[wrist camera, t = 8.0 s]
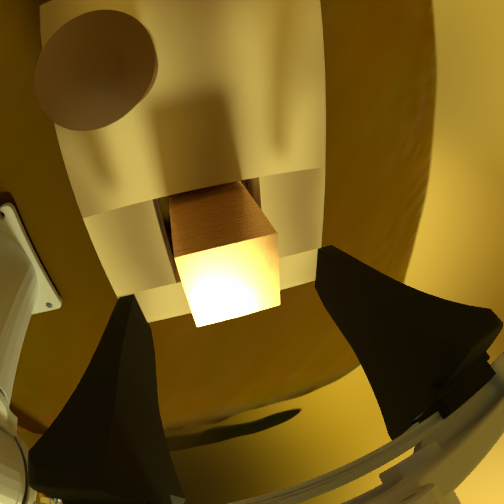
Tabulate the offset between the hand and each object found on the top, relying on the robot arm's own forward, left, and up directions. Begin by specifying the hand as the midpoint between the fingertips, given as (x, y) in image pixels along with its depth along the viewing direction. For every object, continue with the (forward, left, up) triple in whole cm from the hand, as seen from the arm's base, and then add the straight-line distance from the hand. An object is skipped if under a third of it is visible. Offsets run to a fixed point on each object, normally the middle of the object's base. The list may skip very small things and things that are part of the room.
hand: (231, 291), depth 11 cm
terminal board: (0, +4, -7) cm, 8 cm away
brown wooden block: (0, 0, -7) cm, 7 cm away
